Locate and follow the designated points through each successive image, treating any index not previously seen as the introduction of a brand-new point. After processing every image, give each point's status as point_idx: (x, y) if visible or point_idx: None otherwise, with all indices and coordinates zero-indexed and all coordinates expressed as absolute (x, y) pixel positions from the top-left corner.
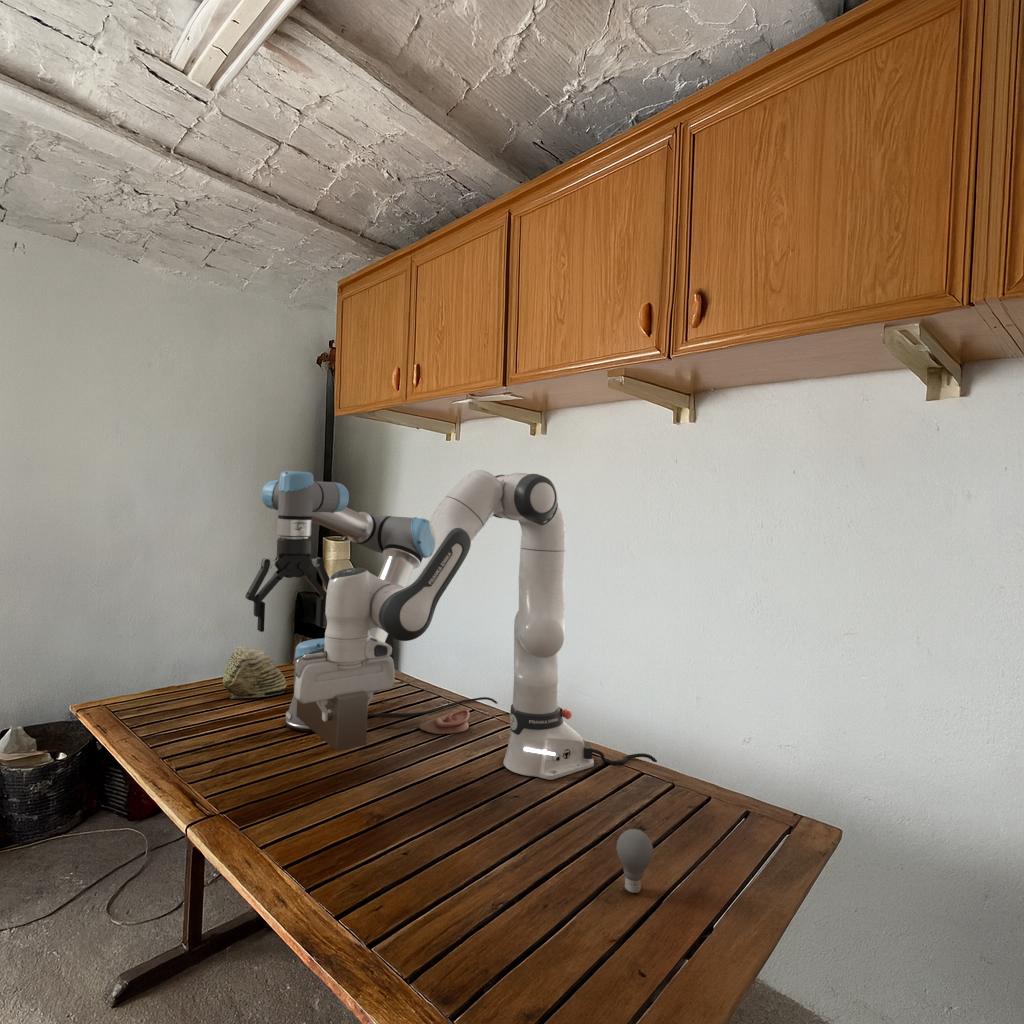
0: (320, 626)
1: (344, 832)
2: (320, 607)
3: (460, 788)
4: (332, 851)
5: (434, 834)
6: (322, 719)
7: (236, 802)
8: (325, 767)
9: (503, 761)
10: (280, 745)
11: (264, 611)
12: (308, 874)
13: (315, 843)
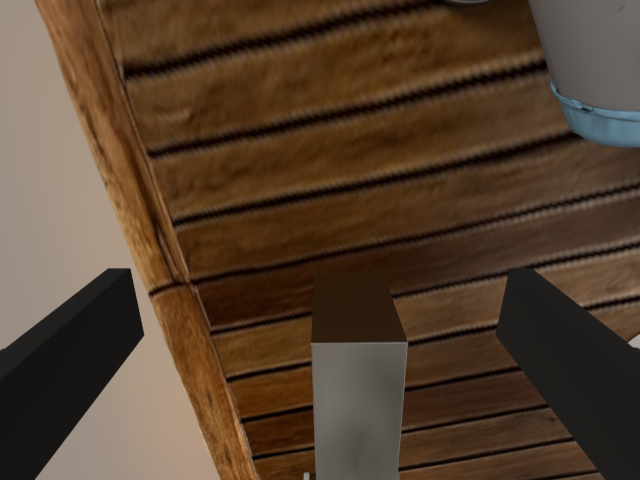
0: (500, 336)
1: None
2: (584, 443)
3: (510, 372)
4: (295, 418)
5: (407, 439)
6: (304, 473)
7: (215, 262)
8: (378, 210)
9: (631, 340)
10: (341, 48)
11: (56, 446)
12: (260, 439)
13: (284, 398)
